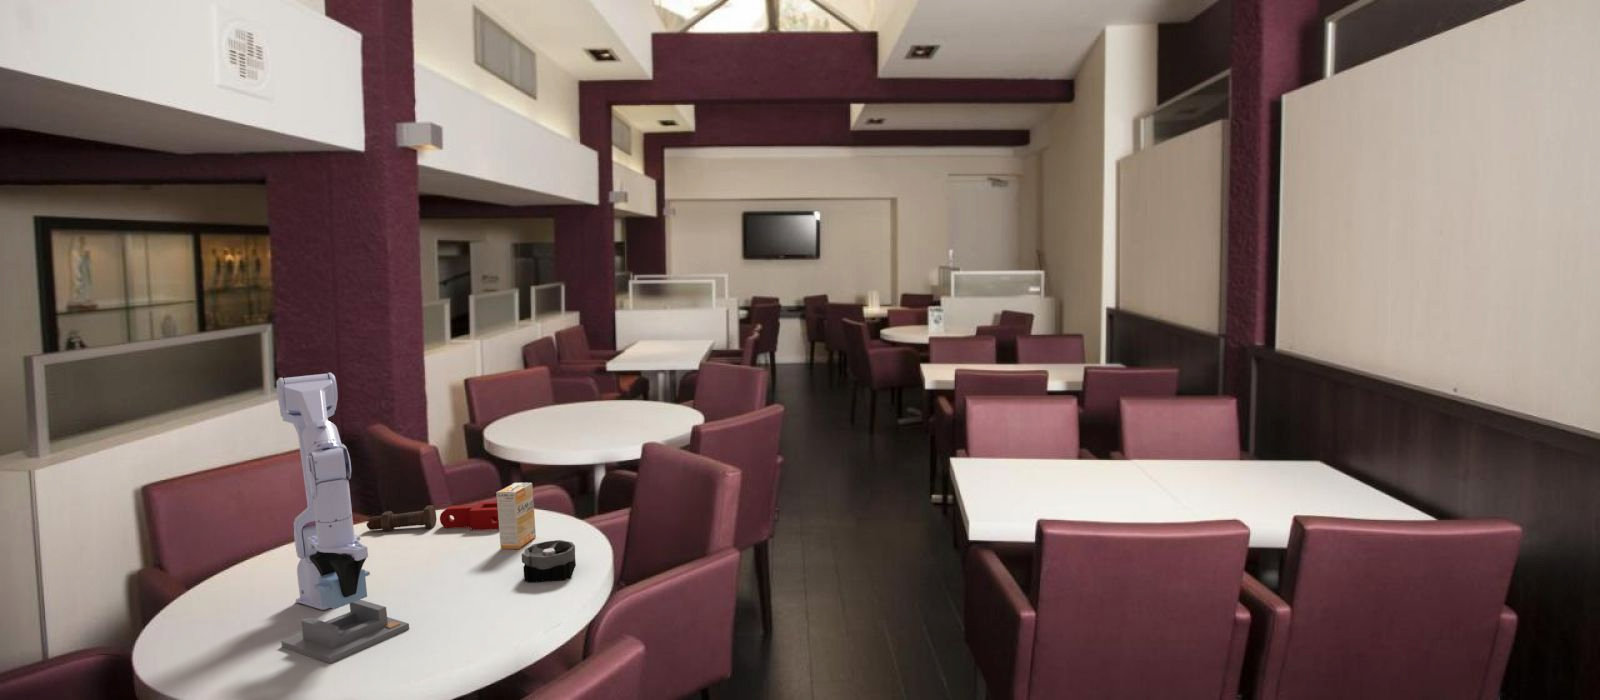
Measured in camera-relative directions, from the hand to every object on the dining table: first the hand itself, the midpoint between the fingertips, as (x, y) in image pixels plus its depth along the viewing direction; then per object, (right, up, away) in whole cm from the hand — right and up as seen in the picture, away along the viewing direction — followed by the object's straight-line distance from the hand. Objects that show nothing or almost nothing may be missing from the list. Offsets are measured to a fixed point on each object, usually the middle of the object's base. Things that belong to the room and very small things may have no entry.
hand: (341, 593), depth 163 cm
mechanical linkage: (+2, 0, +62) cm, 63 cm away
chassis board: (0, -8, +1) cm, 8 cm away
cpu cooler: (+29, -4, +29) cm, 41 cm away
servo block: (0, -2, 0) cm, 2 cm away
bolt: (-16, -1, +62) cm, 64 cm away
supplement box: (+16, -2, +48) cm, 51 cm away
